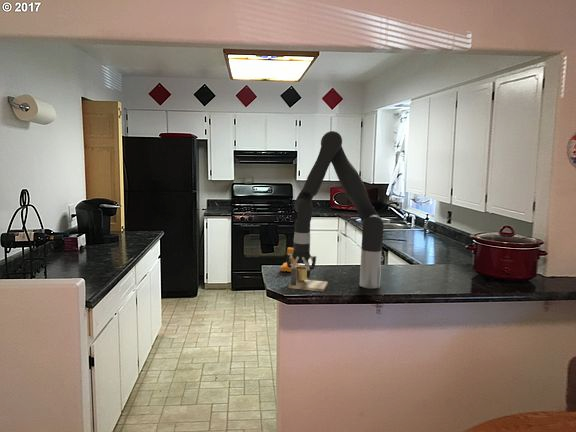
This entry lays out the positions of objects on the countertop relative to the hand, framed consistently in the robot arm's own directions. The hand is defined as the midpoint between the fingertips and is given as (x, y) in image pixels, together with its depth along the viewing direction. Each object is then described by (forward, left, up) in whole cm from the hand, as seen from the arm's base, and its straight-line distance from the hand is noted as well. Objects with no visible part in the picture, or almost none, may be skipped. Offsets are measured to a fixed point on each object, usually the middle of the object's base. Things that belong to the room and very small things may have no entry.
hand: (300, 276), depth 212 cm
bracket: (+11, -22, -4) cm, 25 cm away
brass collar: (0, 0, -1) cm, 1 cm away
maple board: (-4, +2, -3) cm, 6 cm away
